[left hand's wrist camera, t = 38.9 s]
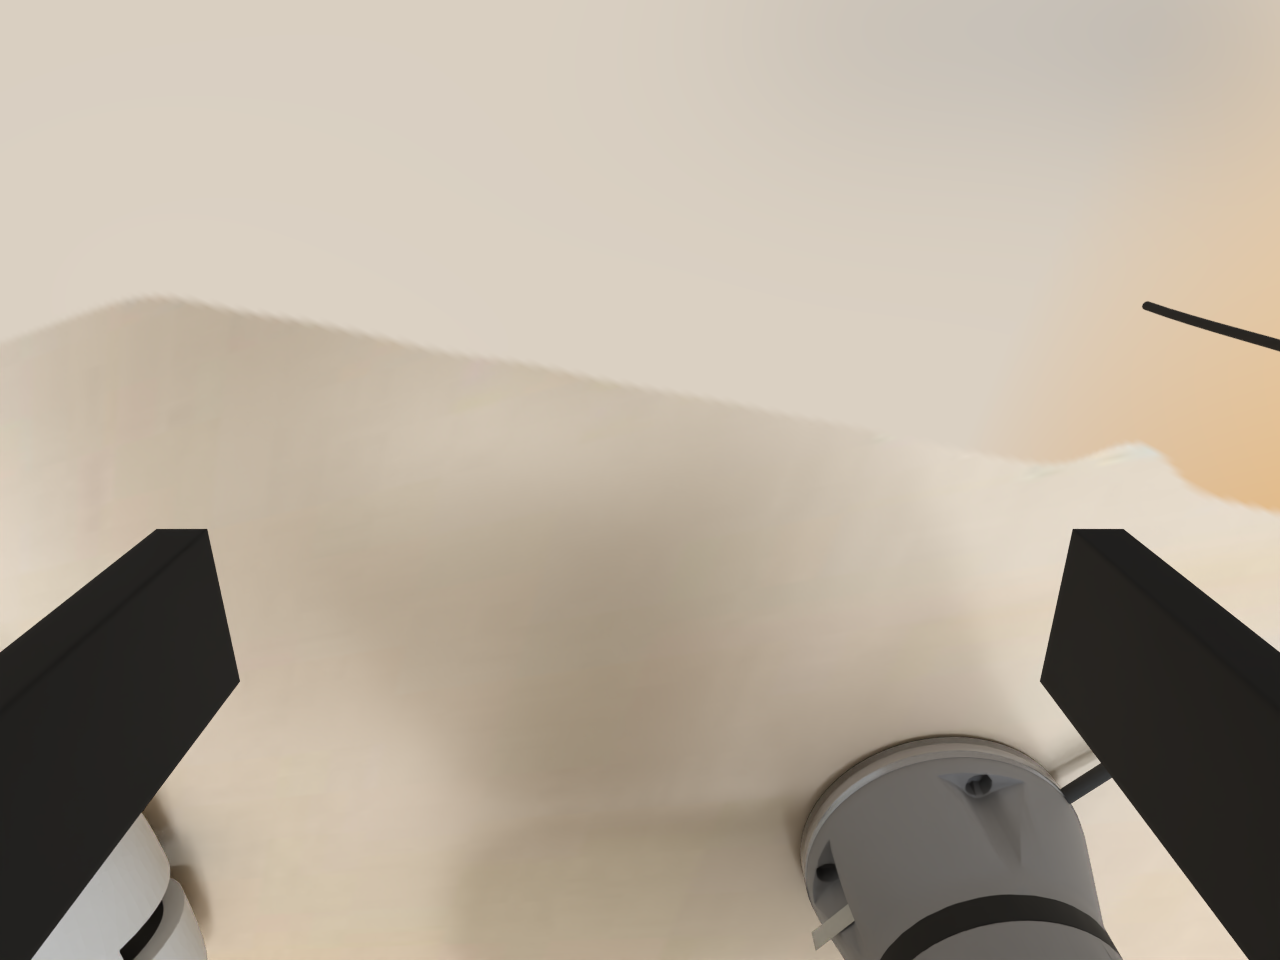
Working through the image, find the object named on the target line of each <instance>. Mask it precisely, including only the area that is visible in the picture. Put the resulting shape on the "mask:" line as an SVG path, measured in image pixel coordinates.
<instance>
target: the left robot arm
mask: <svg viewBox="0 0 1280 960" xmlns="http://www.w3.org/2000/svg"><path fill="white" fill-rule="evenodd" d="M1142 308H1143V309H1144V310H1146V311H1149V312H1152V313H1155V314H1158V315H1161V316H1164V317H1167V318H1170V319H1173V320H1176V321H1179V322H1182V323H1185V324H1188V325H1192V326H1195V327H1198V328H1201V329H1205V330H1208V331H1211V332H1215V333H1218V334H1222V335H1225V336H1228V337H1232V338H1235V339H1239V340H1242V341H1245V342H1249V343H1252V344H1256V345H1259V346H1262V347H1266V348H1270V349H1273V350H1276V351H1279V352H1280V339H1276V338H1273V337H1269V336H1266V335H1262V334H1258V333H1255V332H1251V331H1247V330H1244V329H1240V328H1236V327H1233V326H1229V325H1225V324H1222V323H1218V322H1215V321H1211V320H1208V319H1204V318H1200V317H1197V316H1193V315H1190V314H1187V313H1183V312H1180V311H1177V310H1174V309H1170V308H1167V307H1164V306H1161V305H1158V304H1155V303H1152V302H1149V301H1146V302H1144V303H1143V305H1142ZM239 682H240V679H239V674H238V670H237V665H236V661H235V656H234V651H233V647H232V642H231V637H230V633H229V628H228V624H227V619H226V614H225V610H224V605H223V600H222V596H221V591H220V586H219V582H218V577H217V573H216V568H215V563H214V559H213V554H212V549H211V545H210V540H209V535H208V531H207V529H156V530H155V531H154V532H152V533H151V534H150V535H149V536H147V537H146V538H145V539H143V540H142V541H141V542H140V543H138V544H137V545H136V546H135V547H133V548H132V549H131V550H129V551H128V552H127V553H126V554H124V555H123V556H122V557H121V558H119V559H118V560H117V561H116V562H114V563H113V564H112V565H110V566H109V567H108V568H107V569H105V570H104V571H103V572H102V573H100V574H99V575H98V576H97V577H95V578H94V579H93V580H91V581H90V582H89V583H88V584H86V585H85V586H84V587H83V588H81V589H80V590H79V591H77V592H76V593H75V594H74V595H72V596H71V597H70V598H69V599H67V600H66V601H65V602H64V603H62V604H61V605H60V606H58V607H57V608H56V609H55V610H53V611H52V612H51V613H50V614H48V615H47V616H46V617H45V618H43V619H42V620H41V621H39V622H38V623H37V624H36V625H34V626H33V627H32V628H31V629H29V630H28V631H27V632H25V633H24V634H23V635H22V636H20V637H19V638H18V639H17V640H15V641H14V642H13V643H12V644H10V645H9V646H8V647H6V648H5V649H4V650H3V651H1V652H0V960H31V959H32V958H33V957H34V955H35V954H36V953H37V951H38V950H39V949H40V947H41V946H42V945H43V943H44V942H45V941H46V939H47V938H48V937H49V935H50V934H51V933H52V931H53V930H54V929H55V927H56V926H57V925H58V923H59V922H60V921H61V919H62V918H63V917H64V915H65V914H66V913H67V911H68V910H69V909H70V907H71V906H72V905H73V903H74V902H75V901H76V899H77V898H78V897H79V895H80V894H81V893H82V891H83V890H84V889H85V887H86V886H87V885H88V883H89V882H90V881H91V879H92V878H93V877H94V875H95V874H96V873H97V871H98V870H99V869H100V867H101V866H102V865H103V863H104V862H105V861H106V859H107V858H108V857H109V855H110V854H111V853H112V851H113V850H114V849H115V847H116V846H117V845H118V843H119V842H120V841H121V839H122V838H123V837H124V835H125V834H126V833H127V831H128V830H129V829H130V827H131V826H132V825H133V823H134V822H135V821H136V819H137V818H138V817H139V815H140V814H141V813H142V811H143V810H144V809H145V807H146V806H147V805H148V803H149V802H150V801H151V799H152V798H153V797H154V795H155V794H156V793H157V791H158V790H159V789H160V787H161V786H162V785H163V783H164V782H165V781H166V779H167V778H168V777H169V775H170V774H171V773H172V771H173V770H174V769H175V767H176V766H177V765H178V763H179V762H180V761H181V759H182V758H183V757H184V755H185V754H186V753H187V751H188V750H189V749H190V747H191V746H192V745H193V743H194V742H195V741H196V739H197V738H198V737H199V735H200V734H201V733H202V731H203V730H204V729H205V727H206V726H207V725H208V723H209V722H210V721H211V719H212V718H213V717H214V715H215V714H216V713H217V711H218V710H219V709H220V707H221V706H222V705H223V703H224V702H225V701H226V699H227V698H228V697H229V695H230V694H231V693H232V691H233V690H234V689H235V687H236V686H237V685H238V683H239ZM1040 682H1041V683H1042V685H1043V686H1044V687H1045V689H1046V690H1047V691H1048V693H1049V694H1050V695H1051V697H1052V698H1053V699H1054V701H1055V702H1056V703H1057V705H1058V706H1059V707H1060V709H1061V710H1062V711H1063V713H1064V714H1065V715H1066V717H1067V718H1068V719H1069V721H1070V722H1071V723H1072V725H1073V726H1074V727H1075V729H1076V730H1077V731H1078V733H1079V734H1080V735H1081V737H1082V738H1083V739H1084V741H1085V742H1086V743H1087V745H1088V746H1089V747H1090V749H1091V750H1092V751H1093V753H1094V754H1095V755H1096V757H1097V758H1098V759H1099V761H1100V762H1101V764H1099V765H1097V766H1096V767H1094V768H1093V769H1091V770H1090V771H1088V772H1086V773H1085V774H1083V775H1082V776H1080V777H1079V778H1077V779H1076V780H1074V781H1072V782H1071V783H1069V784H1068V785H1066V786H1065V787H1063V788H1060V787H1059V785H1058V784H1057V782H1056V781H1055V780H1054V778H1053V777H1052V776H1051V775H1050V774H1049V773H1048V772H1047V770H1046V769H1044V768H1043V767H1042V766H1041V765H1040V764H1039V763H1037V762H1036V761H1035V760H1033V759H1032V758H1030V757H1029V756H1027V755H1025V754H1023V753H1021V752H1019V751H1018V750H1015V749H1013V748H1010V747H1008V746H1006V745H1002V744H999V743H996V742H992V741H987V740H982V739H976V738H968V737H938V738H930V739H923V740H918V741H913V742H909V743H905V744H902V745H898V746H895V747H892V748H890V749H887V750H884V751H882V752H880V753H877V754H875V755H873V756H871V757H869V758H867V759H866V760H864V761H862V762H860V763H858V764H857V765H855V766H854V767H853V768H851V769H850V770H848V771H847V772H846V773H844V774H843V775H842V776H841V777H839V778H838V779H837V780H836V781H835V782H834V783H833V784H832V785H831V786H830V787H829V788H828V789H827V790H826V791H825V793H824V794H823V795H822V796H821V797H820V799H819V800H818V802H817V803H816V805H815V806H814V808H813V810H812V811H811V813H810V815H809V817H808V820H807V822H806V824H805V827H804V831H803V834H802V840H801V846H800V858H801V866H802V871H803V875H804V880H805V884H806V889H807V893H808V897H809V899H810V902H811V904H812V907H813V909H814V910H815V912H816V915H817V917H818V919H819V920H820V922H821V924H822V925H821V926H819V927H818V928H817V929H816V930H814V931H813V932H812V936H813V940H814V945H815V950H817V949H819V948H820V947H821V946H822V945H824V944H825V943H826V942H828V941H829V940H830V939H832V941H833V942H834V944H835V945H836V947H837V948H838V950H839V952H840V953H841V955H842V956H843V958H844V959H845V960H1123V959H1122V957H1121V956H1120V954H1119V952H1118V951H1117V949H1116V947H1115V946H1114V944H1113V942H1112V940H1111V939H1110V937H1109V935H1108V933H1107V932H1106V930H1105V928H1104V926H1103V921H1102V916H1101V911H1100V907H1099V902H1098V897H1097V892H1096V888H1095V883H1094V878H1093V874H1092V869H1091V864H1090V859H1089V855H1088V850H1087V845H1086V841H1085V836H1084V833H1083V830H1082V827H1081V824H1080V821H1079V819H1078V816H1077V814H1076V812H1075V810H1074V808H1073V806H1072V805H1071V803H1073V802H1074V801H1076V800H1077V799H1079V798H1081V797H1082V796H1084V795H1085V794H1087V793H1088V792H1090V791H1092V790H1093V789H1095V788H1096V787H1098V786H1100V785H1101V784H1103V783H1104V782H1106V781H1107V780H1109V779H1111V778H1113V779H1114V781H1115V782H1116V783H1117V785H1118V786H1119V787H1120V789H1121V790H1122V791H1123V793H1124V794H1125V795H1126V797H1127V798H1128V799H1129V801H1130V802H1131V803H1132V805H1133V806H1134V807H1135V809H1136V810H1137V811H1138V813H1139V814H1140V815H1141V817H1142V818H1143V819H1144V821H1145V822H1146V823H1147V825H1148V826H1149V827H1150V829H1151V830H1152V831H1153V833H1154V834H1155V835H1156V837H1157V838H1158V839H1159V841H1160V842H1161V843H1162V845H1163V846H1164V847H1165V849H1166V850H1167V851H1168V853H1169V854H1170V855H1171V857H1172V858H1173V859H1174V861H1175V862H1176V863H1177V865H1178V866H1179V867H1180V869H1181V870H1182V871H1183V873H1184V874H1185V875H1186V877H1187V878H1188V879H1189V881H1190V882H1191V883H1192V885H1193V886H1194V887H1195V889H1196V890H1197V891H1198V893H1199V894H1200V895H1201V897H1202V898H1203V899H1204V901H1205V902H1206V903H1207V905H1208V906H1209V907H1210V909H1211V910H1212V911H1213V913H1214V914H1215V915H1216V917H1217V918H1218V919H1219V921H1220V922H1221V923H1222V925H1223V926H1224V927H1225V929H1226V930H1227V931H1228V933H1229V934H1230V935H1231V937H1232V938H1233V939H1234V941H1235V942H1236V943H1237V945H1238V946H1239V947H1240V949H1241V950H1242V951H1243V953H1244V954H1245V955H1246V957H1247V958H1248V959H1249V960H1280V652H1279V651H1277V650H1276V649H1275V648H1274V647H1272V646H1271V645H1270V644H1268V643H1267V642H1266V641H1265V640H1263V639H1262V638H1261V637H1260V636H1258V635H1257V634H1256V633H1255V632H1253V631H1252V630H1251V629H1249V628H1248V627H1247V626H1246V625H1244V624H1243V623H1242V622H1241V621H1239V620H1238V619H1237V618H1235V617H1234V616H1233V615H1232V614H1230V613H1229V612H1228V611H1227V610H1225V609H1224V608H1223V607H1222V606H1220V605H1219V604H1218V603H1216V602H1215V601H1214V600H1213V599H1211V598H1210V597H1209V596H1208V595H1206V594H1205V593H1204V592H1203V591H1201V590H1200V589H1199V588H1197V587H1196V586H1195V585H1194V584H1192V583H1191V582H1190V581H1189V580H1187V579H1186V578H1185V577H1183V576H1182V575H1181V574H1180V573H1178V572H1177V571H1176V570H1175V569H1173V568H1172V567H1171V566H1170V565H1168V564H1167V563H1166V562H1164V561H1163V560H1162V559H1161V558H1159V557H1158V556H1157V555H1156V554H1154V553H1153V552H1152V551H1151V550H1149V549H1148V548H1147V547H1145V546H1144V545H1143V544H1142V543H1140V542H1139V541H1138V540H1137V539H1135V538H1134V537H1133V536H1131V535H1130V534H1129V533H1128V532H1126V531H1125V530H1124V529H1073V531H1072V535H1071V540H1070V545H1069V549H1068V554H1067V559H1066V563H1065V568H1064V573H1063V577H1062V582H1061V586H1060V591H1059V596H1058V600H1057V605H1056V610H1055V614H1054V619H1053V624H1052V628H1051V633H1050V637H1049V642H1048V647H1047V651H1046V656H1045V661H1044V665H1043V670H1042V674H1041V679H1040Z"/></svg>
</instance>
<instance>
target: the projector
mask: <svg viewBox="0 0 1280 960" xmlns="http://www.w3.org/2000/svg"><path fill="white" fill-rule="evenodd" d="M31 960H207V952H206V947H205V943H204V939H203V936H202V933H201V930H200V927H199V924H198V922H197V919H196V917H195V915H194V912H193V910H192V908H191V905H190V903H189V901H188V899H187V897H186V895H185V893H184V891H183V888H182V886H181V885H180V883H179V882H178V881H176V880H175V879H173V878H170V865H169V861H168V859H167V856H166V854H165V852H164V850H163V848H162V847H161V845H160V843H159V841H158V839H157V837H156V835H155V833H154V832H153V830H152V828H151V826H150V825H149V823H148V821H147V820H146V818H145V817H144V815H143V814H142V813H141V814H140V815H139V817H138V818H137V819H136V821H135V822H134V823H133V825H132V826H131V827H130V829H129V830H128V831H127V833H126V834H125V835H124V837H123V838H122V839H121V841H120V842H119V843H118V845H117V846H116V847H115V849H114V850H113V851H112V853H111V854H110V855H109V857H108V858H107V859H106V861H105V862H104V863H103V865H102V866H101V867H100V869H99V870H98V871H97V873H96V874H95V875H94V877H93V878H92V879H91V881H90V882H89V883H88V885H87V886H86V887H85V889H84V890H83V891H82V893H81V894H80V895H79V897H78V898H77V899H76V901H75V902H74V903H73V905H72V906H71V907H70V909H69V910H68V911H67V913H66V914H65V915H64V917H63V918H62V919H61V921H60V922H59V923H58V925H57V926H56V927H55V929H54V930H53V931H52V933H51V934H50V935H49V937H48V938H47V939H46V941H45V942H44V943H43V945H42V946H41V947H40V949H39V950H38V951H37V953H36V954H35V955H34V957H33V958H32V959H31Z"/></svg>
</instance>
